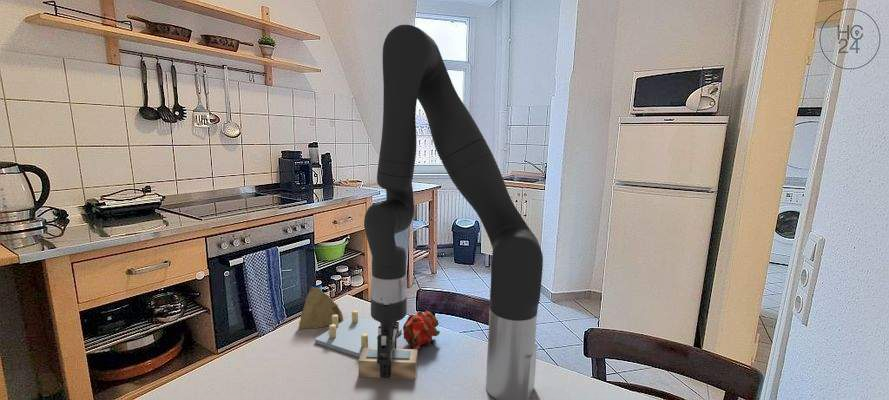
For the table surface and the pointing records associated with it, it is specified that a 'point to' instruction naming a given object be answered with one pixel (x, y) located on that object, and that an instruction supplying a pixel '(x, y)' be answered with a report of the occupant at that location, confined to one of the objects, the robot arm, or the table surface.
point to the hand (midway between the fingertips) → (388, 364)
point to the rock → (318, 310)
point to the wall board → (351, 334)
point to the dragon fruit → (420, 329)
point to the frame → (400, 363)
